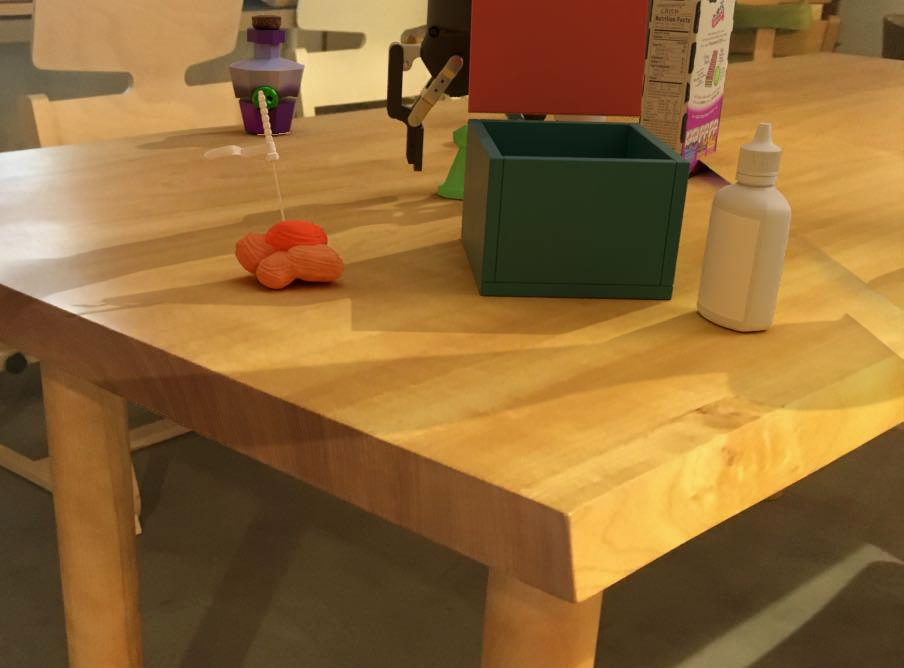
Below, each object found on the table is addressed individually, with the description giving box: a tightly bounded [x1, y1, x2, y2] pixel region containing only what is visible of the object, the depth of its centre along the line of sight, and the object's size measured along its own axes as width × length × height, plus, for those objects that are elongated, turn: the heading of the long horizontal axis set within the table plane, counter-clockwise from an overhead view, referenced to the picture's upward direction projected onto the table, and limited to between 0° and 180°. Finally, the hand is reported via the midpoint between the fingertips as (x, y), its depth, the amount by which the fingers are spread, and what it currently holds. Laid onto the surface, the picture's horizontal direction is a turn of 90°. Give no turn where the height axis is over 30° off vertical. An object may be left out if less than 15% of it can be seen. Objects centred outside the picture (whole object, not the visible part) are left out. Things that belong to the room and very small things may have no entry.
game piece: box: [437, 124, 468, 201], centre depth 110 cm, size 4×4×6 cm
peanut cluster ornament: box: [203, 91, 346, 290], centre depth 82 cm, size 6×10×12 cm, turn 75°
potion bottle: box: [228, 14, 305, 136], centre depth 135 cm, size 9×9×12 cm
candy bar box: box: [638, 0, 737, 178], centre depth 119 cm, size 11×5×16 cm, turn 148°
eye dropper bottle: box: [696, 122, 792, 333], centre depth 76 cm, size 4×6×12 cm
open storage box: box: [460, 118, 691, 300], centre depth 88 cm, size 16×13×9 cm
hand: (462, 170), depth 110 cm, fingers open, 7 cm apart
